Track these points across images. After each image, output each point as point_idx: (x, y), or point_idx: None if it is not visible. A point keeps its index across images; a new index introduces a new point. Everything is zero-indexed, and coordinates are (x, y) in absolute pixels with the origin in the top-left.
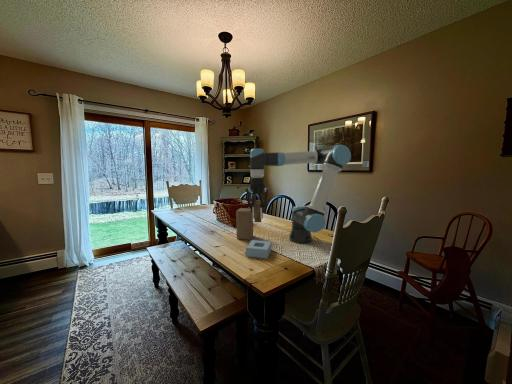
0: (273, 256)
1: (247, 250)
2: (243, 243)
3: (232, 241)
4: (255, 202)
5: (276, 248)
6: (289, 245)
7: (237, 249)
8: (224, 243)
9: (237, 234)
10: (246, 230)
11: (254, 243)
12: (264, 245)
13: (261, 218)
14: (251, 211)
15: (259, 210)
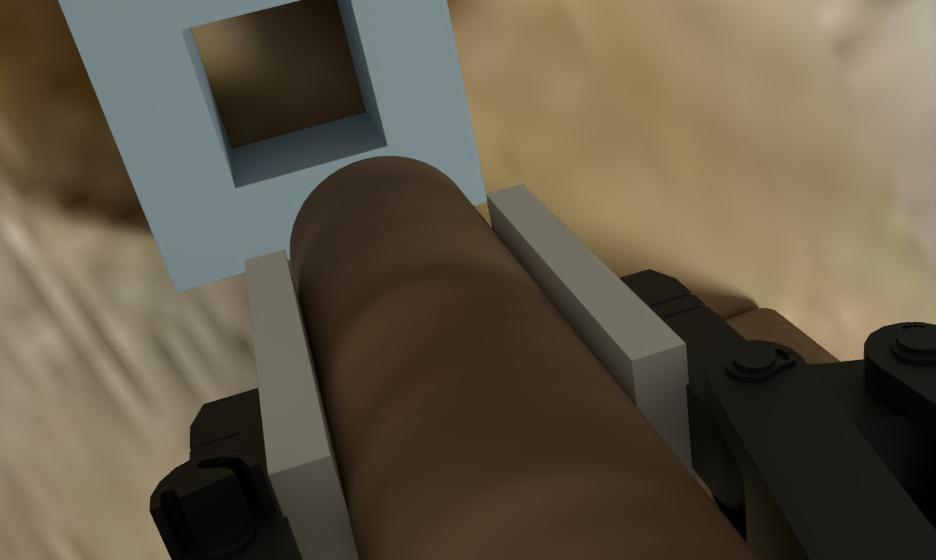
0: (22, 56)
1: None
2: (628, 232)
3: (784, 214)
4: (638, 504)
5: (141, 318)
6: (35, 491)
7: (612, 19)
8: (852, 107)
9: (791, 333)
10: None
11: (383, 97)
12: (190, 102)
13: (256, 264)
14: (656, 284)
15: (354, 371)
